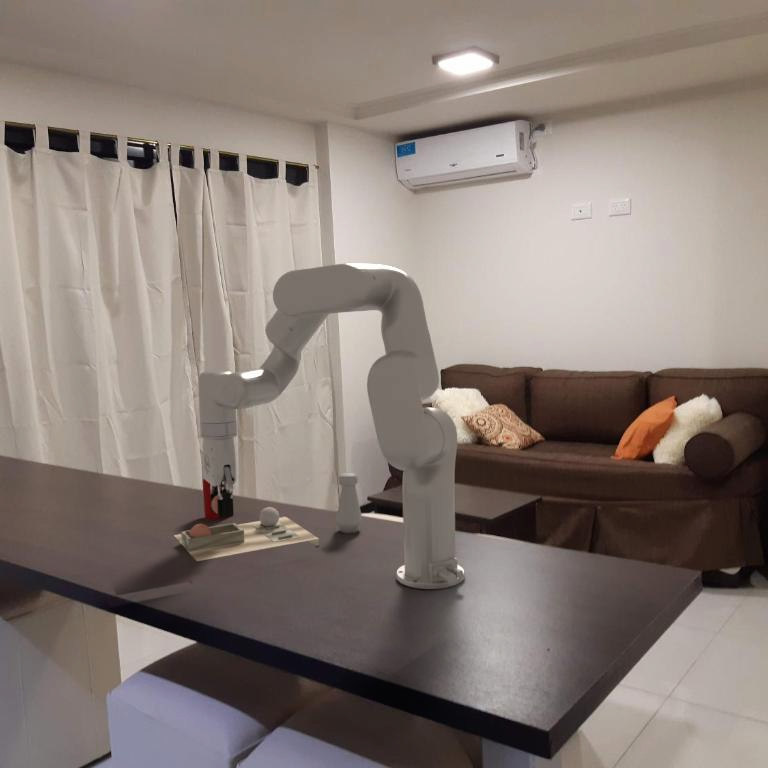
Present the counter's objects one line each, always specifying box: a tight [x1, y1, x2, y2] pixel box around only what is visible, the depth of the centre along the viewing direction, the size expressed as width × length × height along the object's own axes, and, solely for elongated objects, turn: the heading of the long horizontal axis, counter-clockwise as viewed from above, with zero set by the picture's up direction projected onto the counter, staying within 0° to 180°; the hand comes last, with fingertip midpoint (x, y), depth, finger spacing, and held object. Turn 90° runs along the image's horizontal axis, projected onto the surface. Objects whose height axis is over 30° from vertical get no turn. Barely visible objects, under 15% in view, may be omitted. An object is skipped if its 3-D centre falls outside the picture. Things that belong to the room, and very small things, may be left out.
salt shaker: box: [335, 472, 363, 534], centre depth 173 cm, size 6×6×13 cm
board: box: [173, 516, 320, 562], centre depth 166 cm, size 20×26×4 cm
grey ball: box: [259, 506, 280, 527], centre depth 173 cm, size 4×4×4 cm
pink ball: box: [190, 523, 211, 538], centre depth 161 cm, size 4×4×4 cm
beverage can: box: [202, 478, 230, 521], centre depth 183 cm, size 7×7×12 cm
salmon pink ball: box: [212, 495, 219, 514], centre depth 163 cm, size 4×4×4 cm
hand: (222, 513), depth 164 cm, fingers closed on salmon pink ball, 4 cm apart
